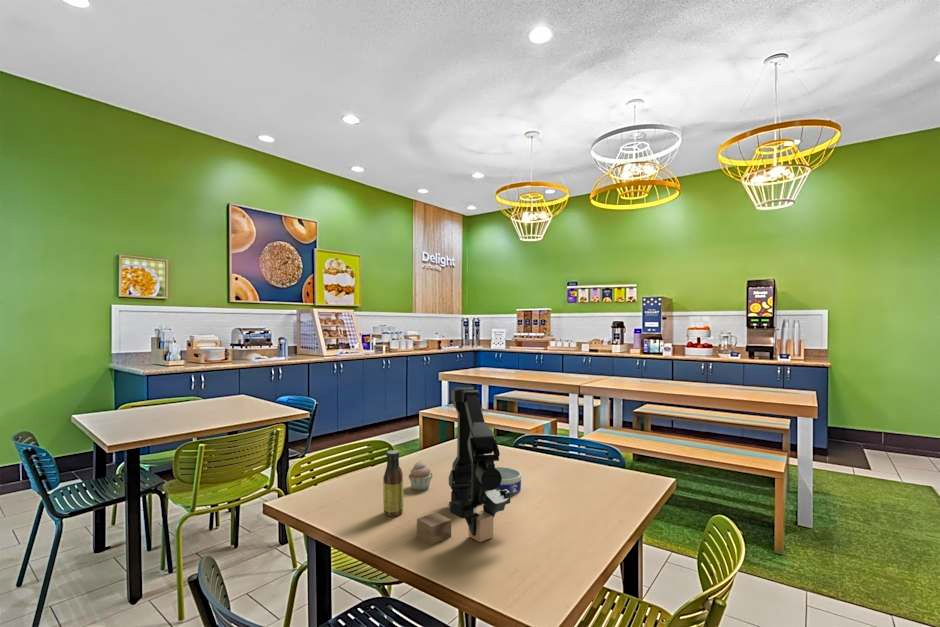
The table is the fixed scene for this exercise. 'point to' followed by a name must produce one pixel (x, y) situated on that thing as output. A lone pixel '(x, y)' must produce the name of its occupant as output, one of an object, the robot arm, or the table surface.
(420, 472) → the cupcake
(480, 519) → the light wooden cube
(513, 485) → the dog bowl
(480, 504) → the robot arm
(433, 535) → the walnut block
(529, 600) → the table surface
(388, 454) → the sauce bottle
